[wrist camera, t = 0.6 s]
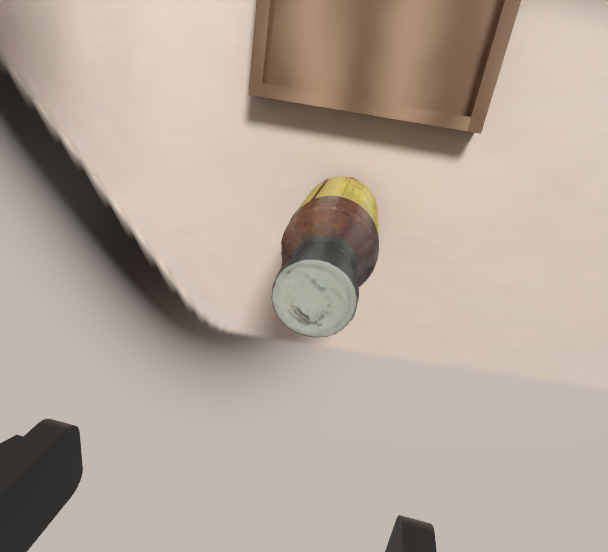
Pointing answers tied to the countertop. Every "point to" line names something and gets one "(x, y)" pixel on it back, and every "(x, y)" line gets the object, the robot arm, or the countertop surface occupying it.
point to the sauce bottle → (326, 258)
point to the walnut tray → (384, 56)
